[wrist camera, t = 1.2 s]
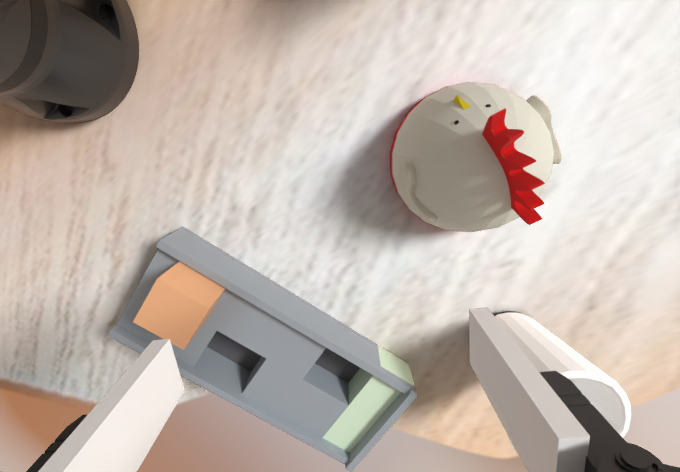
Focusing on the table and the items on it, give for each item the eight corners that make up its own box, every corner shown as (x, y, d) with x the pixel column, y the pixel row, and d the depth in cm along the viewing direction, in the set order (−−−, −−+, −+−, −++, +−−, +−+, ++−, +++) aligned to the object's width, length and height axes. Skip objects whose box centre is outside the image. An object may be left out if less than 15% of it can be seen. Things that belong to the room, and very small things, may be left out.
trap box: (135, 312, 41) (104, 337, 36) (182, 226, 39) (156, 241, 33) (350, 432, 45) (351, 472, 40) (408, 363, 43) (417, 396, 37)
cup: (503, 282, 40) (573, 348, 27) (566, 331, 41) (659, 414, 29) (443, 345, 42) (482, 432, 30) (504, 389, 43) (566, 489, 31)
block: (161, 297, 36) (132, 321, 32) (183, 258, 35) (157, 278, 30) (204, 322, 37) (183, 350, 32) (228, 284, 36) (209, 308, 31)
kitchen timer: (499, 57, 34) (615, -2, 19) (548, 187, 37) (678, 222, 22) (366, 129, 36) (379, 125, 21) (423, 247, 39) (468, 314, 24)
